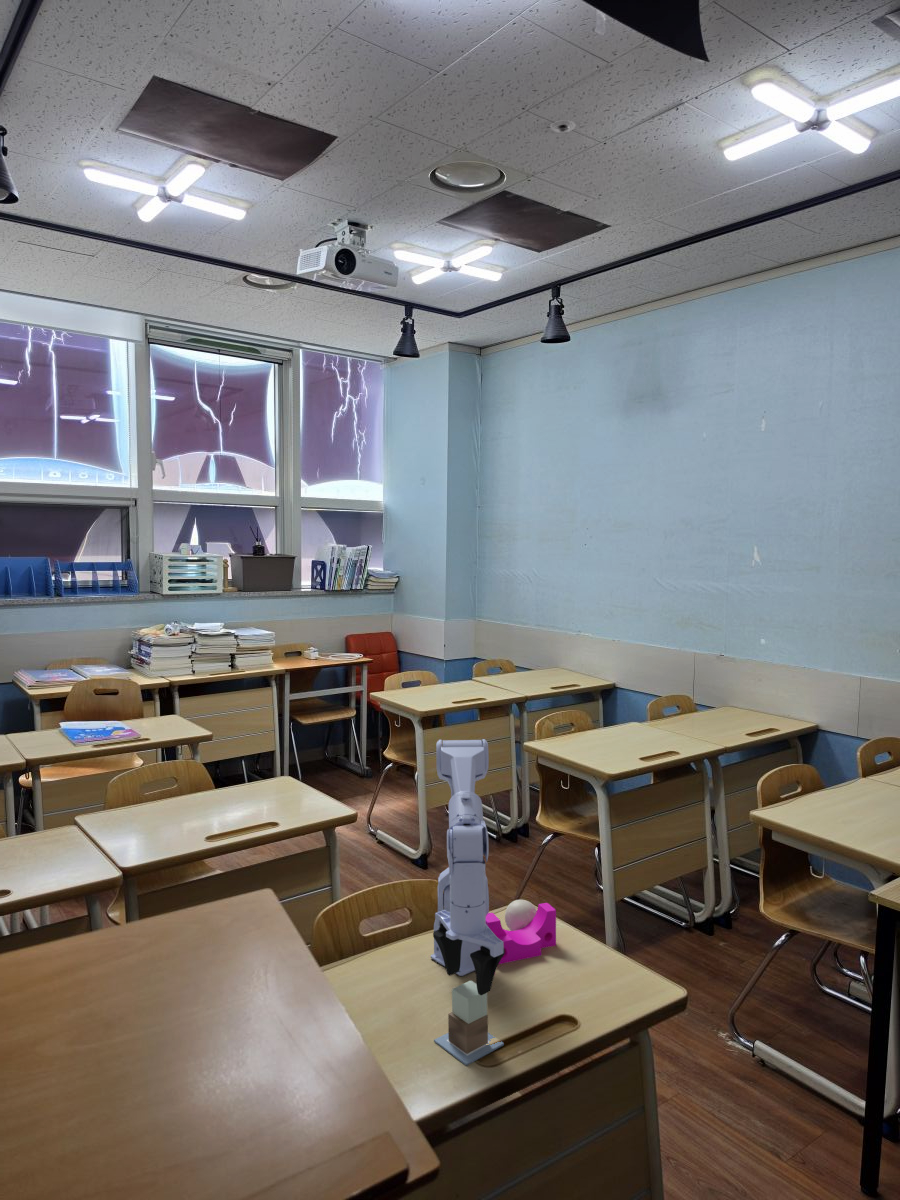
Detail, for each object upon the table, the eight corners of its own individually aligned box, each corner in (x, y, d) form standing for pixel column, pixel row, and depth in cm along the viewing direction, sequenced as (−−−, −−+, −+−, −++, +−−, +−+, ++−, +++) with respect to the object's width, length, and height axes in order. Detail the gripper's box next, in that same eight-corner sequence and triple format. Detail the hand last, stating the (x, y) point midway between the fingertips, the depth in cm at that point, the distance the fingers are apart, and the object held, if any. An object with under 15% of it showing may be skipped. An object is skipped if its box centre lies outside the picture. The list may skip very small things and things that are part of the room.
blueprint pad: (434, 1041, 128) (434, 1039, 128) (471, 1022, 133) (471, 1021, 133) (466, 1065, 122) (466, 1063, 122) (503, 1045, 127) (503, 1043, 127)
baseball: (523, 944, 160) (523, 912, 160) (498, 931, 166) (498, 900, 165) (546, 934, 164) (546, 902, 164) (521, 922, 170) (521, 891, 170)
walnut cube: (448, 1040, 128) (448, 1013, 128) (469, 1030, 131) (469, 1003, 130) (466, 1054, 124) (466, 1026, 124) (487, 1042, 127) (487, 1015, 127)
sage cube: (452, 1012, 128) (452, 988, 128) (470, 1003, 130) (470, 980, 130) (468, 1023, 125) (468, 999, 124) (487, 1014, 127) (487, 990, 127)
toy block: (493, 966, 152) (492, 928, 152) (480, 951, 158) (480, 914, 157) (562, 952, 157) (562, 915, 157) (547, 938, 163) (547, 902, 163)
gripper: (420, 892, 129) (421, 972, 130) (479, 923, 118) (479, 1011, 119) (453, 880, 134) (454, 958, 135) (513, 909, 123) (513, 994, 123)
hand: (468, 982), depth 127 cm, fingers open, 7 cm apart
